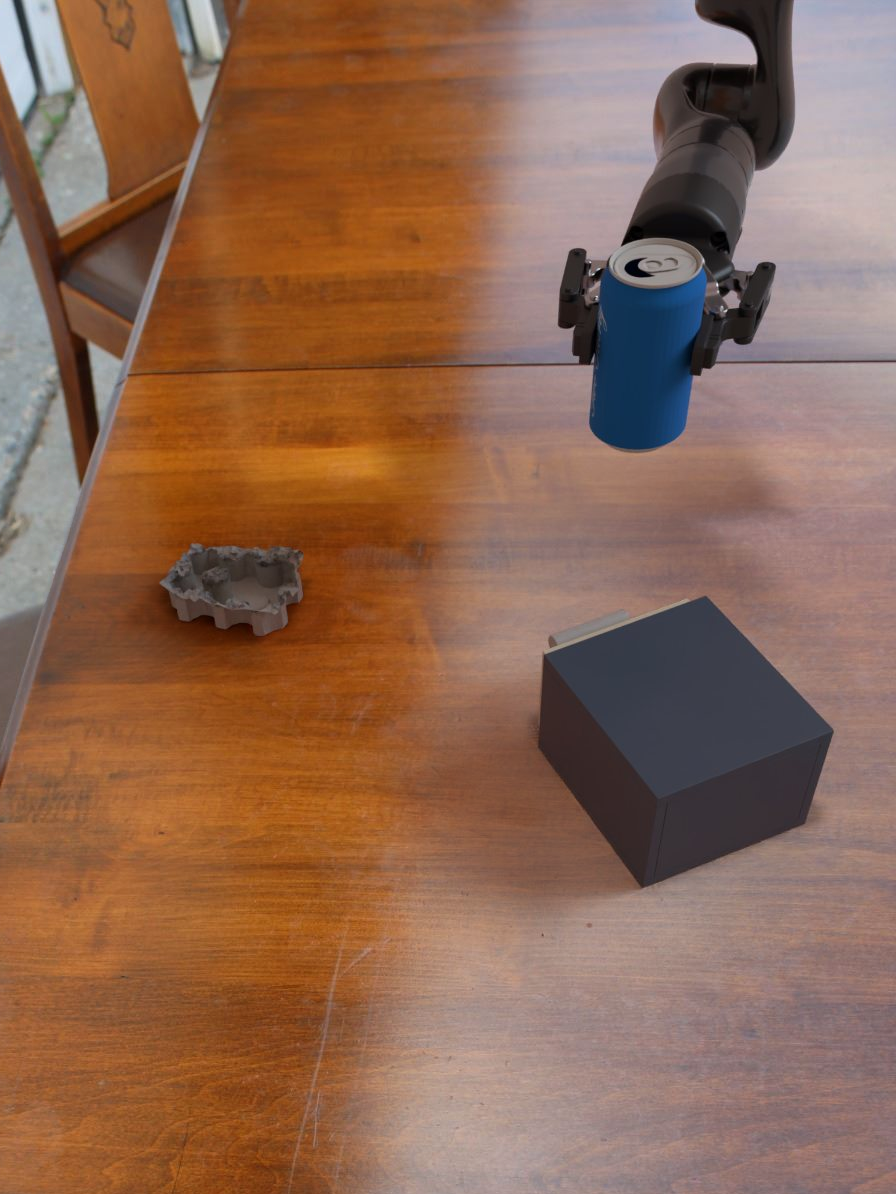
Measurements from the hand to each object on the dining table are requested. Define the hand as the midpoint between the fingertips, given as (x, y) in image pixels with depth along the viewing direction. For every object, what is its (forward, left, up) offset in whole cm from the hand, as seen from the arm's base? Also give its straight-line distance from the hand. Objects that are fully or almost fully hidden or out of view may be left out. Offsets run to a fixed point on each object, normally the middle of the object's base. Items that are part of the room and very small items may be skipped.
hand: (640, 357), depth 84 cm
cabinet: (+9, +13, -24) cm, 28 cm away
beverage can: (-2, -1, -7) cm, 8 cm away
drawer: (+8, +9, -23) cm, 26 cm away
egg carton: (+17, -25, -24) cm, 39 cm away
